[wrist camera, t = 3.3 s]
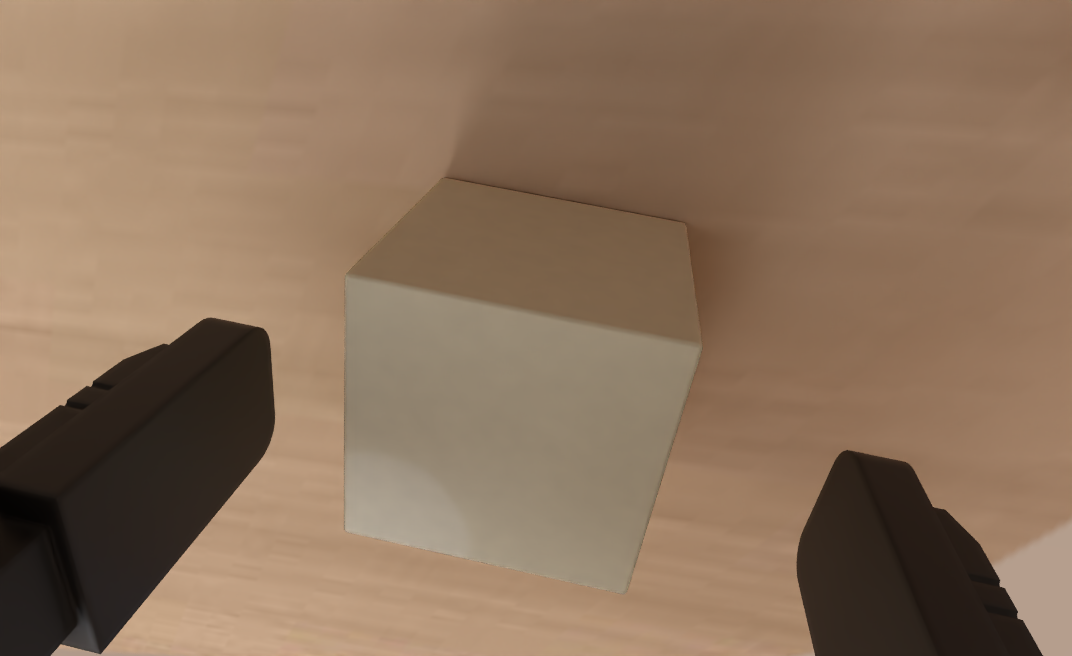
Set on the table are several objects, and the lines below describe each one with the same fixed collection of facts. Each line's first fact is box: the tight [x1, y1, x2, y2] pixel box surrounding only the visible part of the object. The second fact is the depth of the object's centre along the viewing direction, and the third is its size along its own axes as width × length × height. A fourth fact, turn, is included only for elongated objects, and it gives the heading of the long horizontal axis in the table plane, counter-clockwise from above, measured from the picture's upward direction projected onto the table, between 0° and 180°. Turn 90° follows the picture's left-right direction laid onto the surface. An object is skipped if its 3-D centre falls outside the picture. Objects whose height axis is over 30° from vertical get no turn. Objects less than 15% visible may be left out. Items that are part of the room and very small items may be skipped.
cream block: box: [344, 178, 703, 594], centre depth 11 cm, size 4×4×4 cm
